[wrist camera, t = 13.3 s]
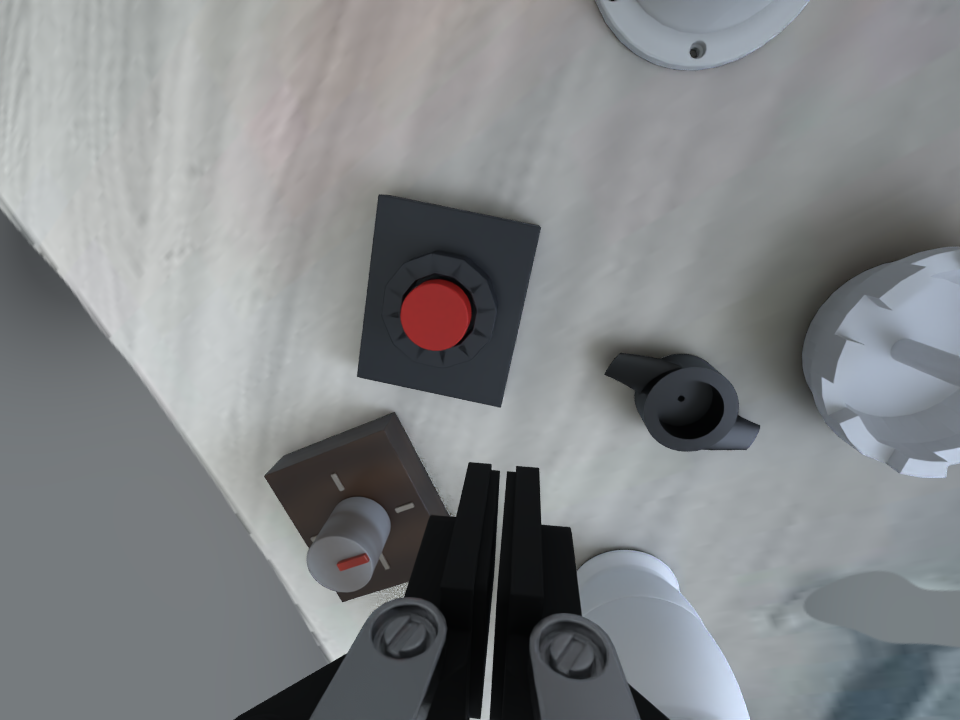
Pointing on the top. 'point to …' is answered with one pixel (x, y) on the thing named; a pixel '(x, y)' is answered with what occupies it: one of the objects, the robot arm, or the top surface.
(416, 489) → the dial panel
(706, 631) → the jar
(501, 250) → the button block
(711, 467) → the top surface
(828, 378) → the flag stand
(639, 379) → the black wing nut
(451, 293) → the button
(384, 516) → the dial
